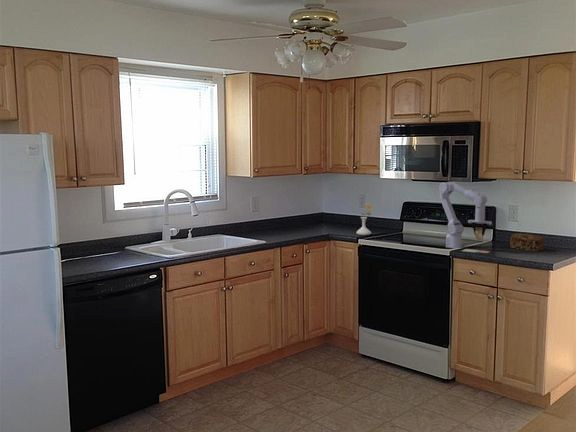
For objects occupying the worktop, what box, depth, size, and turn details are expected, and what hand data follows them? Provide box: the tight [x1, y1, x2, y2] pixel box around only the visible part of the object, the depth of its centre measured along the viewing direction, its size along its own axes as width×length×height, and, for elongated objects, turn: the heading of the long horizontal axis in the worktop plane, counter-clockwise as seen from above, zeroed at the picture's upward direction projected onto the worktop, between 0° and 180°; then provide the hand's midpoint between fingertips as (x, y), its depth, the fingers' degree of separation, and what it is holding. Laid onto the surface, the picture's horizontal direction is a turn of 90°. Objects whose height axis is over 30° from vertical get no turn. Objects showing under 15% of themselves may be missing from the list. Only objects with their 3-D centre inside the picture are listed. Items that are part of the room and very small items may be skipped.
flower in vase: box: [356, 202, 374, 236], centre depth 427 cm, size 13×11×25 cm
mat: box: [461, 248, 481, 253], centre depth 355 cm, size 9×9×1 cm
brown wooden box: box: [474, 226, 484, 241], centre depth 355 cm, size 4×2×8 cm, turn 53°
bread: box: [509, 232, 545, 252], centre depth 362 cm, size 19×11×10 cm, turn 44°
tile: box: [477, 250, 490, 254], centre depth 350 cm, size 6×1×7 cm
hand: (479, 235), depth 355 cm, fingers closed on brown wooden box, 4 cm apart
